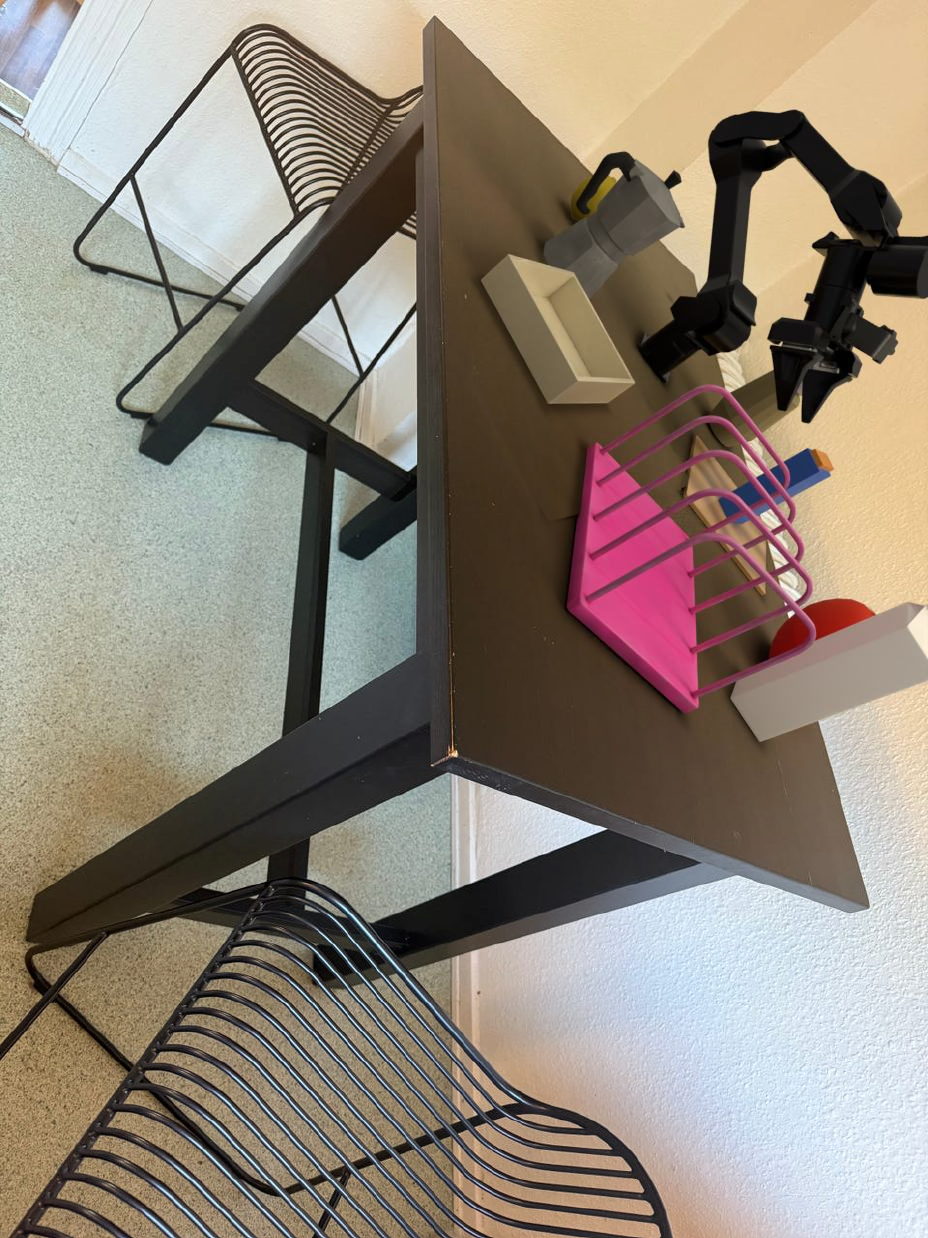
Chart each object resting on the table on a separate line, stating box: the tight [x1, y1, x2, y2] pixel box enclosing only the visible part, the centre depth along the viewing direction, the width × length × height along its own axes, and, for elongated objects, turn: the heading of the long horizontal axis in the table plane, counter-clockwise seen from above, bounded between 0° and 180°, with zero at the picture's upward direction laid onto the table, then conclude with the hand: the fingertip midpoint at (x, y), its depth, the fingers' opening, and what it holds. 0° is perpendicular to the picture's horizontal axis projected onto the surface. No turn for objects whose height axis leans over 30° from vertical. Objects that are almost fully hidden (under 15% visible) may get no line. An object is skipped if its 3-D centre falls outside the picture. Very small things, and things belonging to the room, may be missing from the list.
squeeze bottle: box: [707, 368, 810, 448], centre depth 122 cm, size 8×8×18 cm
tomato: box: [768, 597, 877, 660], centre depth 96 cm, size 13×11×14 cm
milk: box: [729, 601, 928, 743], centre depth 84 cm, size 6×6×22 cm
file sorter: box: [566, 384, 816, 714], centre depth 79 cm, size 17×25×16 cm
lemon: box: [570, 174, 618, 221], centre depth 119 cm, size 6×6×8 cm
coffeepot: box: [543, 151, 686, 300], centre depth 102 cm, size 15×9×18 cm, turn 103°
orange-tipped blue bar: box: [718, 447, 835, 524], centre depth 109 cm, size 4×5×14 cm
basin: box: [480, 253, 636, 405], centre depth 92 cm, size 15×15×5 cm
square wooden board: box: [682, 434, 768, 597], centre depth 113 cm, size 18×18×1 cm
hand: (794, 417), depth 106 cm, fingers open, 9 cm apart
